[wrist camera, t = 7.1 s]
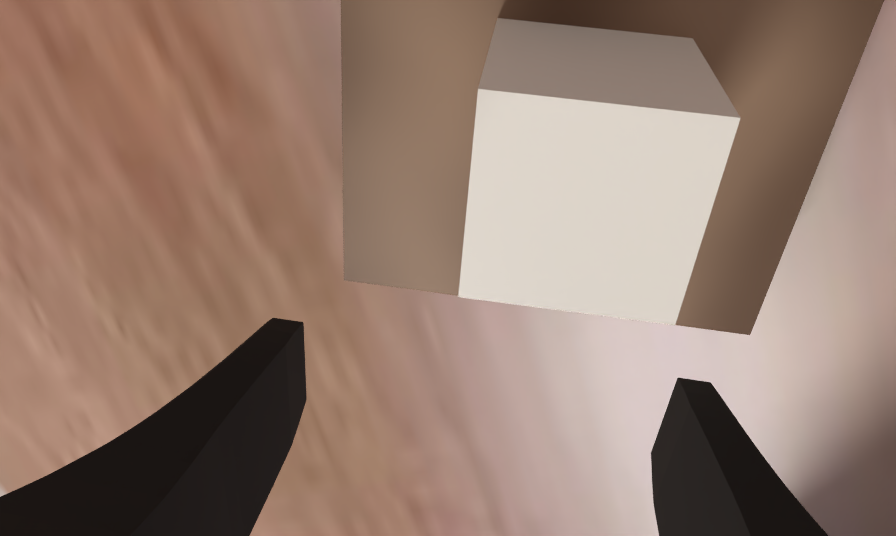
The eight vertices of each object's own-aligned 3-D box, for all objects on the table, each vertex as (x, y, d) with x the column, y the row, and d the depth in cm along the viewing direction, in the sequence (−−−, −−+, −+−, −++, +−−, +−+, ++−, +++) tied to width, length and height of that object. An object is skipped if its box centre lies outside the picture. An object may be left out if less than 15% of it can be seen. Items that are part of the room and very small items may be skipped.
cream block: (692, 38, 16) (740, 118, 12) (648, 210, 19) (675, 325, 14) (497, 17, 16) (478, 88, 12) (479, 189, 19) (458, 297, 15)
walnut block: (890, -150, 16) (941, -144, 14) (731, 286, 22) (749, 335, 20) (365, -197, 17) (338, -198, 14) (362, 238, 23) (343, 279, 21)
